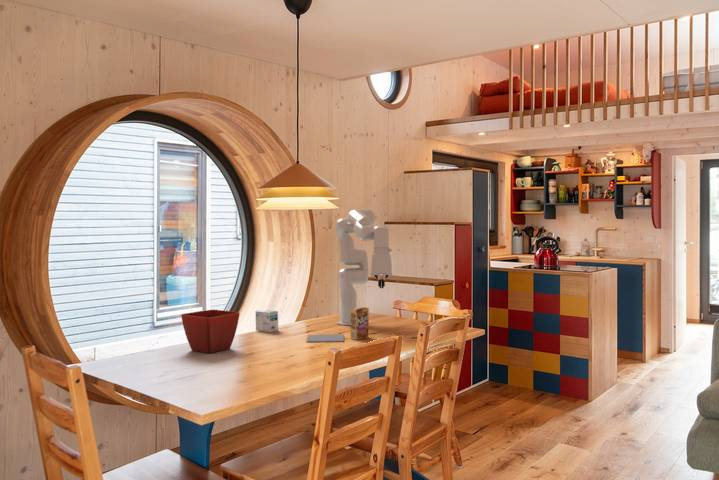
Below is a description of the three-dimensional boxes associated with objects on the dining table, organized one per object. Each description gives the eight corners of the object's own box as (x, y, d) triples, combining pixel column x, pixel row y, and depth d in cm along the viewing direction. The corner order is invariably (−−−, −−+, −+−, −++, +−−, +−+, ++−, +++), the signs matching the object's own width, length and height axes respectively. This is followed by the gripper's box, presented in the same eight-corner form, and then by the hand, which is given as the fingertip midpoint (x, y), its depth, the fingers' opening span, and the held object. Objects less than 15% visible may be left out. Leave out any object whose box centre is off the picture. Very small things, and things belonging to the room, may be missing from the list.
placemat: (308, 335, 301) (308, 334, 301) (343, 335, 302) (343, 334, 302) (306, 342, 285) (306, 341, 285) (343, 341, 286) (343, 340, 286)
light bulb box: (278, 330, 316) (278, 310, 316) (270, 332, 310) (270, 312, 310) (263, 328, 322) (263, 309, 321) (255, 330, 316) (254, 310, 316)
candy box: (356, 340, 289) (356, 309, 289) (350, 339, 292) (350, 308, 292) (369, 337, 295) (368, 307, 295) (363, 336, 298) (362, 306, 298)
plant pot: (213, 343, 284) (212, 308, 283) (241, 348, 273) (240, 312, 272) (180, 351, 268) (180, 314, 268) (208, 356, 257) (208, 318, 257)
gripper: (395, 250, 297) (395, 287, 297) (365, 250, 296) (366, 287, 297) (397, 251, 289) (397, 288, 290) (366, 251, 289) (366, 289, 289)
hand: (381, 287), depth 293 cm, fingers closed
